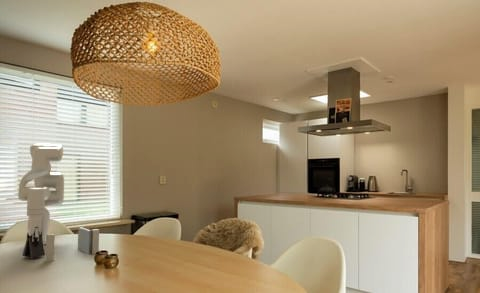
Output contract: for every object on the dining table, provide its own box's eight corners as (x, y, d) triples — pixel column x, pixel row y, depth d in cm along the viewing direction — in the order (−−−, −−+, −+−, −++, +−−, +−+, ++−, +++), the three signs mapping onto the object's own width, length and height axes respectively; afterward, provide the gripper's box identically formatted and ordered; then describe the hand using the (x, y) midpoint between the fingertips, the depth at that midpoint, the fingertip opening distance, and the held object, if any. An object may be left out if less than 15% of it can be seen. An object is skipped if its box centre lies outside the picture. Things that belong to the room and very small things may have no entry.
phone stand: (22, 255, 166) (23, 231, 167) (34, 253, 171) (35, 229, 172) (32, 258, 162) (33, 233, 162) (44, 255, 167) (45, 231, 168)
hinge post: (90, 253, 174) (91, 229, 175) (96, 252, 176) (97, 228, 177) (92, 254, 172) (93, 230, 173) (98, 253, 174) (99, 229, 175)
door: (92, 254, 173) (92, 229, 174) (89, 254, 172) (90, 230, 173) (80, 248, 185) (81, 226, 186) (77, 249, 184) (78, 226, 185)
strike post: (45, 260, 161) (46, 234, 162) (52, 259, 163) (53, 233, 164) (46, 261, 159) (47, 235, 159) (53, 260, 160) (54, 234, 161)
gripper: (24, 210, 172) (23, 246, 171) (29, 214, 159) (27, 253, 158) (41, 209, 176) (39, 244, 175) (47, 213, 164) (45, 251, 163)
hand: (34, 248), depth 167 cm, fingers closed on phone stand, 3 cm apart
